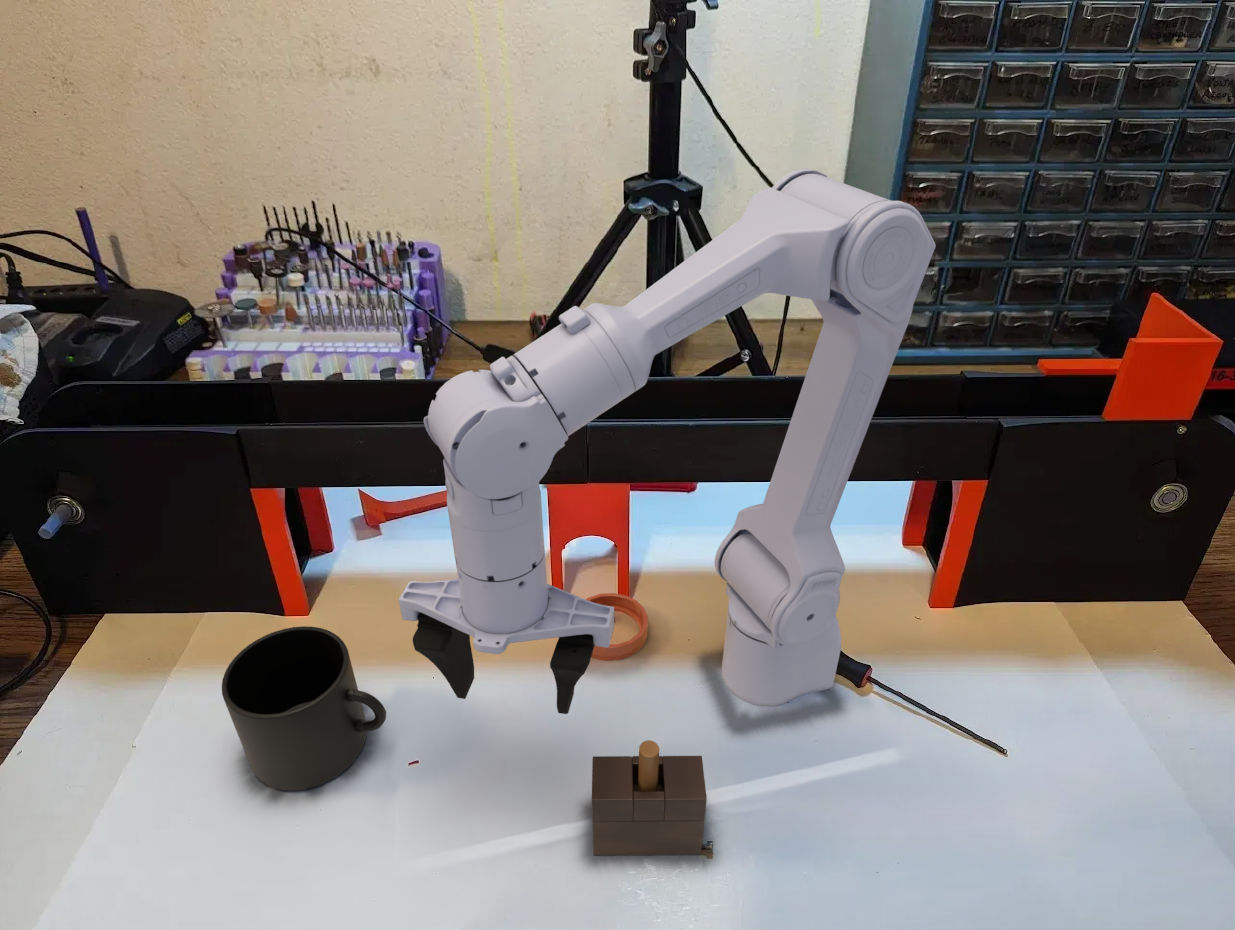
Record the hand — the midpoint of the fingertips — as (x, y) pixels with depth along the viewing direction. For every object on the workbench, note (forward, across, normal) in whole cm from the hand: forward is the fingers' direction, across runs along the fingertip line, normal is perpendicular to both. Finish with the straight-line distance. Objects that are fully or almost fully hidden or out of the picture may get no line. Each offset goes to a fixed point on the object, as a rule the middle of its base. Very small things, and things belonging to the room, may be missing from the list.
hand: (515, 695), depth 59 cm
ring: (+10, +4, +16) cm, 20 cm away
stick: (+6, +10, -3) cm, 12 cm away
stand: (+10, +10, -3) cm, 15 cm away
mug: (+10, -17, 0) cm, 20 cm away
